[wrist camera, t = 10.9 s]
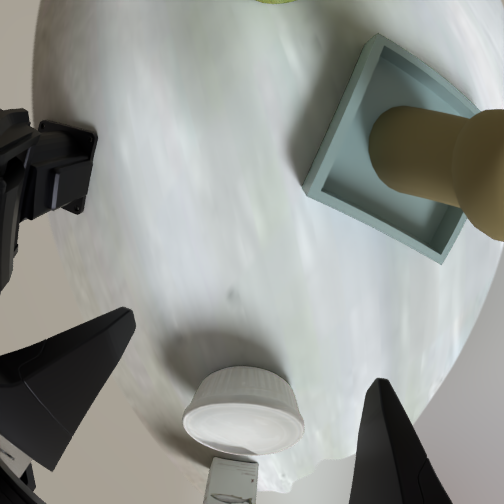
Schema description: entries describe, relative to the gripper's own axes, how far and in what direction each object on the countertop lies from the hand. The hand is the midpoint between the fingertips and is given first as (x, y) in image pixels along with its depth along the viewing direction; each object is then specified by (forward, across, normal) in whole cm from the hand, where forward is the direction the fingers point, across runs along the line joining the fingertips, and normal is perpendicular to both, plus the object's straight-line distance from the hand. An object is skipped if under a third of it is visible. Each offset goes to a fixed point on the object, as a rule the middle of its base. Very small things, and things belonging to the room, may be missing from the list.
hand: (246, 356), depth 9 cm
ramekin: (+10, +1, +18) cm, 21 cm away
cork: (+13, -6, -7) cm, 16 cm away
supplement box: (+7, +1, +41) cm, 41 cm away
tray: (+14, -7, -6) cm, 16 cm away
